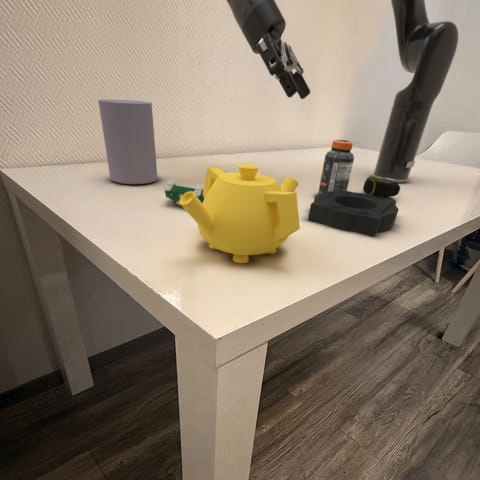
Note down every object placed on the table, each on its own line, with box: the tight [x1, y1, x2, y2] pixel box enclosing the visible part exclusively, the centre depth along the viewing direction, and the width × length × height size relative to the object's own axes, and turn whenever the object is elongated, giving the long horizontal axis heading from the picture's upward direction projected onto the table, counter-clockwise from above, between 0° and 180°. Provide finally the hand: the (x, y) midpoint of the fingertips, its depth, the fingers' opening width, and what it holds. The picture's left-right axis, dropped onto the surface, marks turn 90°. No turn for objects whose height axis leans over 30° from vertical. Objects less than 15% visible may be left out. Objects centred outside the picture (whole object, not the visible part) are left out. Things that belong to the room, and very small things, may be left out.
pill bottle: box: [317, 139, 355, 195], centre depth 70 cm, size 6×6×11 cm
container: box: [97, 98, 158, 186], centre depth 71 cm, size 10×10×15 cm
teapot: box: [179, 163, 301, 264], centre depth 45 cm, size 20×18×11 cm
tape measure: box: [362, 176, 401, 199], centre depth 76 cm, size 7×7×4 cm
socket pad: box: [307, 189, 400, 238], centre depth 62 cm, size 15×15×3 cm
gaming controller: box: [164, 179, 204, 206], centre depth 62 cm, size 9×4×6 cm
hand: (300, 95), depth 67 cm, fingers open, 8 cm apart
